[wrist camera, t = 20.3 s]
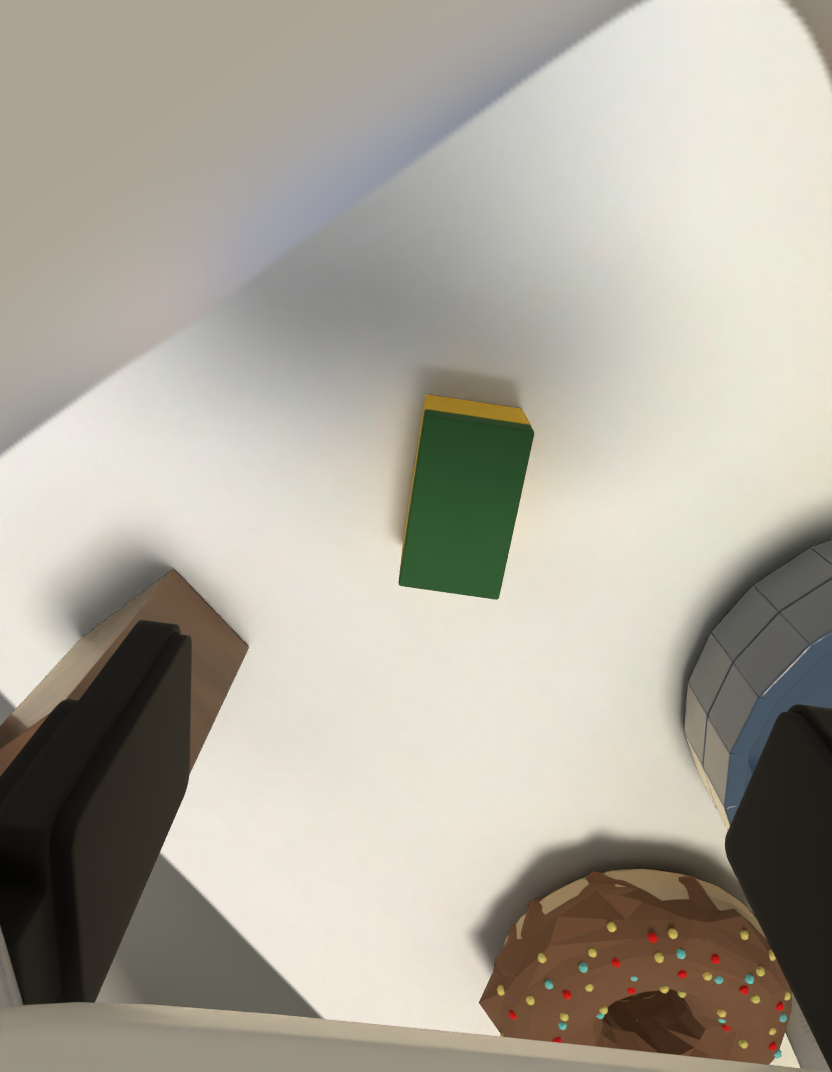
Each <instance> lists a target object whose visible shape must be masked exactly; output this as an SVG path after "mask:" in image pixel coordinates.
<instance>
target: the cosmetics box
mask: <svg viewBox="0 0 832 1072" xmlns="http://www.w3.org/2000/svg"><path fill="white" fill-rule="evenodd" d="M785 1032H786V1035H787V1037H788V1039H789V1042H790V1044H791V1046H792V1049H793V1051H794V1053H795V1056H796V1058H797V1060H798V1063H799V1065H800V1067H801V1069H810V1070H819V1071H828V1072H831V1071H830V1069H829V1067H828V1065H827V1063H826V1061H825V1059H824V1056H823V1054H822V1052H821V1050H820V1048H819V1046H818V1044H817V1042H816V1040H815V1038H814V1036H813V1034H812V1032H811V1030H810V1028H809V1026H808V1024H807V1021H806V1019H805V1017H804V1015H803V1013H802V1011H801V1009H800V1007H799V1005H798V1003H797V1001H796V999H795V997H794V995H793V993H792V1012H791V1015H790V1018H789V1021H788V1024H787V1027H786V1030H785Z"/></svg>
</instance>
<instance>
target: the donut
mask: <svg viewBox="0 0 832 1072" xmlns="http://www.w3.org/2000/svg"><path fill="white" fill-rule="evenodd" d="M641 992H643V993H641ZM479 1003H480V1005H481V1006H482V1008H483V1009H484V1011H485V1012H486V1013H487V1015H488V1016H489V1018H490V1019H491V1021H492V1022H493V1023H494V1025H495V1026H496V1028H497V1029H498V1031H499V1032H500V1033H501V1036H500V1037H509V1038H519V1039H528V1040H538V1041H548V1042H557V1043H567V1044H577V1045H586V1046H596V1047H606V1048H615V1049H625V1050H634V1051H644V1052H653V1053H663V1054H672V1055H682V1056H691V1057H701V1058H710V1059H719V1060H728V1061H738V1062H747V1063H756V1064H765V1065H769V1064H770V1063H771V1062H772V1061H773V1060H774V1058H775V1057H776V1058H779V1057H781V1051H780V1050H779V1048H780V1046H781V1043H782V1040H783V1037H784V1034H785V1030H786V1027H787V1024H788V1021H789V1018H790V1015H791V1012H792V991H791V988H790V986H789V984H788V982H787V980H786V978H785V976H784V974H783V972H782V970H781V968H780V966H779V964H778V962H777V960H776V958H775V955H774V953H773V951H772V949H771V947H770V945H769V943H768V941H767V939H766V937H765V935H764V933H763V931H762V929H761V927H760V925H759V923H758V920H757V918H756V916H755V914H753V913H751V912H750V911H749V909H748V908H747V907H746V906H745V905H744V904H743V903H742V902H740V901H739V900H738V899H736V898H735V897H733V896H732V895H730V894H729V893H727V892H726V891H724V890H723V889H721V888H720V887H718V886H716V885H713V884H710V883H707V882H704V881H702V880H699V879H696V878H695V877H694V876H688V875H683V874H678V873H673V872H665V871H657V870H649V869H629V870H613V871H607V872H604V873H600V872H595V871H592V872H591V873H590V874H589V875H588V876H587V877H584V878H580V879H578V880H576V881H574V882H572V883H570V884H568V885H566V886H564V887H562V888H560V889H558V890H556V891H554V892H552V893H551V894H549V895H548V896H547V897H545V898H536V899H534V900H532V901H530V903H529V906H528V909H527V912H526V913H525V914H524V915H523V916H522V917H521V918H520V919H519V921H518V922H517V923H515V924H514V925H512V927H511V930H510V933H509V935H508V936H507V938H506V939H505V942H504V946H503V948H502V949H501V951H500V953H499V954H498V956H497V958H496V959H495V964H494V970H493V973H492V975H491V977H490V980H489V982H488V984H487V986H486V988H485V990H484V993H483V995H482V997H481V999H480V1001H479Z"/></svg>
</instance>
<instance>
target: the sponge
mask: <svg viewBox="0 0 832 1072" xmlns="http://www.w3.org/2000/svg"><path fill="white" fill-rule="evenodd" d="M533 437H534V431H533V429H532V427H531V426H530V423H529V421H528V419H527V418H526V416H525V414H524V412H523V411H522V409H521V408H514V407H508V406H501V405H495V404H488V403H481V402H475V401H468V400H461V399H455V398H448V397H442V396H435V395H428V394H426V395H425V401H424V407H423V414H422V420H421V427H420V434H419V440H418V447H417V454H416V460H415V467H414V474H413V480H412V487H411V494H410V500H409V507H408V513H407V520H406V527H405V533H404V540H403V547H402V556H401V565H400V575H399V585H400V586H405V587H412V588H419V589H426V590H433V591H440V592H447V593H454V594H461V595H468V596H475V597H482V598H489V599H498V598H499V595H500V590H501V586H502V581H503V577H504V572H505V567H506V563H507V558H508V553H509V549H510V544H511V539H512V535H513V530H514V525H515V521H516V516H517V512H518V507H519V502H520V498H521V493H522V488H523V484H524V479H525V474H526V470H527V465H528V460H529V456H530V451H531V446H532V442H533Z"/></svg>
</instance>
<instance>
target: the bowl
mask: <svg viewBox="0 0 832 1072" xmlns="http://www.w3.org/2000/svg"><path fill="white" fill-rule="evenodd" d="M797 704H801V705H809V706H817V707H825V708H831V709H832V540H829V541H827V542H824V543H821V544H818V545H815V546H812V547H811V549H807V550H806V551H804V552H803V553H801V554H800V555H798V556H797V557H795V558H794V559H792V560H791V561H789V562H788V563H786V564H785V565H783V566H782V567H780V568H778V569H777V570H775V571H774V572H772V573H771V574H769V575H768V576H766V577H765V578H763V579H762V580H760V581H759V582H757V583H756V584H755V585H754V586H752V587H751V588H750V589H749V590H748V591H747V592H746V593H745V594H744V596H743V597H742V598H741V599H740V600H739V601H738V602H737V603H736V605H735V606H734V607H733V608H732V609H731V610H730V611H729V612H728V614H727V615H726V616H725V617H724V618H723V619H722V620H721V621H720V623H719V624H718V625H717V626H716V627H715V628H714V629H713V630H712V633H710V635H709V638H708V640H707V642H706V644H705V646H704V649H703V651H702V653H701V655H700V657H699V659H698V662H697V664H696V666H695V668H694V670H693V673H692V675H691V677H690V679H689V683H688V688H687V701H686V714H685V728H684V731H685V736H686V739H687V741H688V744H689V747H690V750H691V753H692V756H693V759H694V762H695V765H696V768H697V771H698V774H699V776H700V778H701V780H702V782H703V784H704V786H705V788H706V790H707V792H708V794H709V795H710V797H711V799H712V801H713V803H714V805H715V807H716V809H717V811H718V813H719V815H720V817H721V819H722V821H723V823H724V825H725V827H726V829H727V831H728V829H729V827H730V825H731V823H732V820H733V818H734V816H735V813H736V811H737V809H738V806H739V804H740V802H741V800H742V797H743V795H744V793H745V790H746V788H747V786H748V783H749V781H750V779H751V776H752V774H753V772H754V770H755V767H756V765H757V763H758V760H759V758H760V756H761V753H762V751H763V749H764V746H765V744H766V742H767V740H768V737H769V735H770V733H771V730H772V728H773V726H774V723H775V721H776V719H777V717H778V716H779V715H780V714H781V713H782V712H787V711H788V710H789V708H791V707H792V706H793V705H797Z"/></svg>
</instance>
